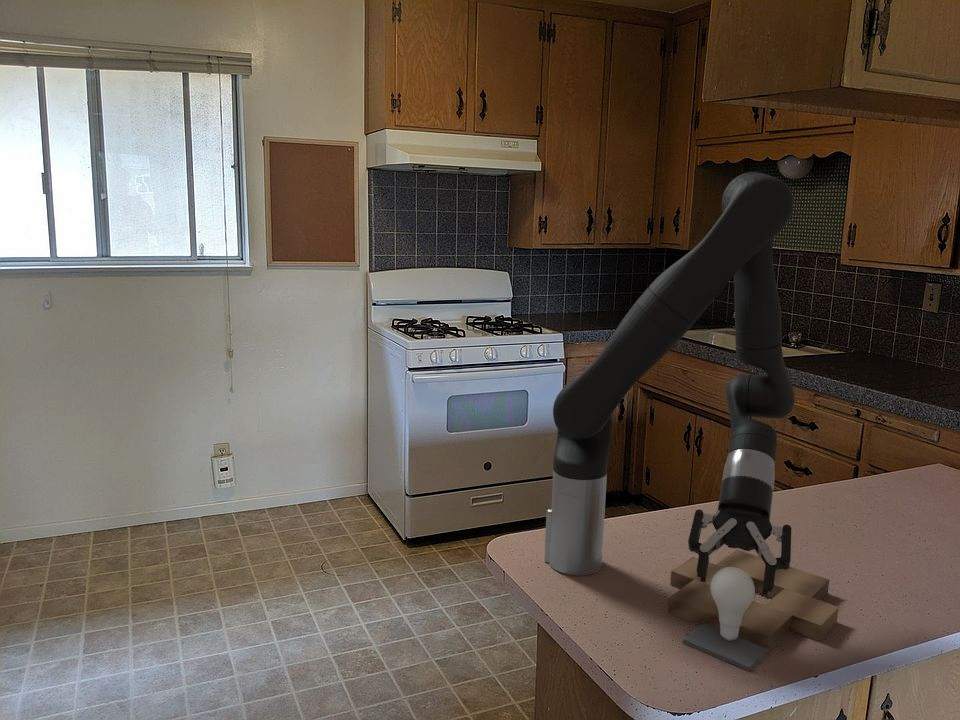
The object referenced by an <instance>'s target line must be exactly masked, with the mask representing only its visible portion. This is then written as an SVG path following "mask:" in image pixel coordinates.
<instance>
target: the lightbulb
mask: <svg viewBox="0 0 960 720" xmlns="http://www.w3.org/2000/svg"><path fill="white" fill-rule="evenodd" d="M710 589H711V594H712V596H713V599H714V601H715V603H716V605H717V608H718V612H719V622H720V634H721V636H722V637H723V638H725V639H726V640H728V641H731V640H734V639H736V638H738V634H739V626H740V625H741V623H742V618H743V615H744V613H745V611H746V609H747V608H748V607H749V605H750V604H751V602H752V601H754V599H755V596H756V593H755V586H754V583H753V580H752V579H751V577H750V576H749V575H748V574H747V573H746V572H745V571H743V570H741V569H739V568H736V567H726V568H723V569H720V570H719V571H718V572H717V573H716V574H715V575H714V576H713V578H712V581H711V585H710Z"/></svg>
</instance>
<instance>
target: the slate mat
mask: <svg viewBox="0 0 960 720" xmlns="http://www.w3.org/2000/svg"><path fill="white" fill-rule="evenodd" d="M682 644H685V645H687V646H689V647H692V648H694V649H696V650H698V651H701V652H703V653H706V654H708V655H711V656H713V657H715V658H718V659H720V660H722V661H725V662H727V663H730V664H731V665H733V666H736V667H739V668H741V669H743V670H745V671H748V672H751V670H752V669H753V668H754V667H756V665H758V663H759V662H760V661H762V660H763V658H764V657H766V655H768V653H769V652H771V651H772V650H773V649H774V648H775V647H776V645H777V644H776V642H775V643H774V644H773V645H772V646H771V647H770V648H769V649H767V648H765V647H762V646H760V645H757V644H755V643H752V642H750V641H747V640H745V639H742V638H740V637H738V638H736V639H734V640H731V641H728V640H726V639H725V638H723V637H722V636H721V634H720V629H717V628H715V627H712V626H710V625H708V624H705V623H703V624H701V625H699V626H698V627H696V628H694V630H693V631H692V632H690V633H689V634H687V636H685V637H684V638H683V639H682ZM768 651H769V652H768Z"/></svg>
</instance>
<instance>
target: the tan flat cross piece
mask: <svg viewBox="0 0 960 720" xmlns="http://www.w3.org/2000/svg"><path fill="white" fill-rule="evenodd" d="M698 558H699V557H694V556H691V557H690V558H689V559H687V560H686V561H683V562H682V563H681V564H679V565H678V566H676V567H675V568H673V569H672V570H671V571H670V582H669V585H670V586H673V587H675V588H677V589H678V590H677V591H676V592H674V593H673V594H672V595H670V596H668V602H667V613H669V614H671V615H674V616H676V617H679V618H682V619H684V620H686V621H689V622H690V623H694V624H696V625H699V626H700V625H701V624H703V623H705V624H708V625H710V626H712V627H715V628H717V629H720V622H719V612H718V608H717V605H716V603H715V601H714V599H713V596H712V594H711V589H710V585H711V581H712V578H713V576H714V575H715V574H716V573H717V572H718V571H719V570H720V569H723V568H726V567H736V568H739V569H741V570H743V571H745V572H746V573H747V574H748V575H749V576H750V577H751V579H752V580H753V583H754V586H755V594H758V595H760V596H763V597H766V598H768V599H770V600H769V601H768V602H767V603H766V604H762V603H760V602H757V601H755V600H753V601H752V602H751V604H750V605H749V607H748V608H747V609H746V611H745V613H744V615H743V618H742V623H741V625H740V626H739V634H738V637H740V638H742V639H745V640H747V641H750V642H752V643H755V644H757V645H760V646H762V647H765V648H767V649H769V648H770V647H771V646H772V645H773V644H774V643H775V642H776V645H777V644H778V643H780V642H781V640H782V639H784V638H785V637H786V635H788V634H789V633H790V632H791V631H792V632H794V633H797V634H799V635H802V636H805V637H807V638H810V639H813V640H814V641H817V642H820V641H821V640H822V639H823V638H824V637H825V635H827V633H829V631H830V630H832V628H833V626H835V624H836V623H837V622H838V617H839V615H838V614H839V606H836V605H834V604H831V603H829V602H824V601H822V600H823V599H824V598H825V597H826V596H827V595H828V593H829V585H830V579H828V578H826V577H823V576H819V575H817V574H814V573H810V572H808V571H804V570H802V569H798V568H795V567H792V566H790V567H789V569H787V570H784V569H778V570H776V572H775V578H774V587H773V590H772V592H769V591H768V593H767V595H764V594H762V591H763V582H764V574H765V564H764V562H763V561H762V559H761V558H760V557H759V556H758V555H755V554H752V553H749V552H747V551H744V550H739V549H735V550H734V551H733V552H731V553H730V554H728V555H727V556H726V557H724V558H723V559H721V560H720V561H718V562H717V563H716V564H715V563H711V562H710V561H709V564H708V570H707V577H706V582H701V580H700V577H698V576H697V564H698ZM769 652H770V651H768V653H769Z"/></svg>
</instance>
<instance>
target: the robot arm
mask: <svg viewBox="0 0 960 720" xmlns="http://www.w3.org/2000/svg"><path fill="white" fill-rule="evenodd" d="M721 210H722V214H721V215H720V216H719V218H718V219H717V220H716V222H715V224H714V225H713V226H712V227H711V229H710V230H709V231H708V232H707V234H706V235H705V236H704V237H703V238H702V240H701V241H700V242H699V243H698V244H697V245H696V246H695V247H693V248H692V249H691V250H690V251H688V253H686V254H685V255H684V256H682V257H680V259H678V260H677V261H675V262H674V263H672V265H670V266H669V267H668V268H667V269H665V270H664V271H663V272H662V273H660V274H659V276H657V277H656V278H655V279H654V281H652V282H651V284H649V286H648V287H647V288H646V289H645V291H644V292H643V293H642V294H641V295H640V296H639V297H638V299H637V300H635V302H634V304H633V305H632V306H631V308H630V309H629V310H628V312H627V313H626V314H625V316H624V317H623V318H622V320H621V321H620V323H619V324H618V325H617V328H615V330H614V331H613V334H612V335H611V337H610V339H608V341H607V343H606V345H605V346H604V348H603V349H602V351H601V352H600V354H599V355H598V356H597V357H596V358H595V360H594V361H593V362H592V363H591V364H590V365H588V367H587V368H586V369H585V370H584V371H583V372H582V373H581V374H579V376H578V377H576V378H573V379H572V380H569V381H568V382H566V384H565V386H563V387H562V389H561V390H560V391H559V393H558V394H557V396H556V397H555V400H554V403H553V405H552V406H553V407H552V417H553V421H554V425H555V426H556V428H557V438H556V443H555V448H554V454H553V462H552V464H553V465H552V487H551V490H552V491H551V507H550V508H549V509H547V510H546V513H545V533H544V534H545V535H544V537H545V538H544V558H543V559H544V561H545V562H547V563H548V564H549V565H550V567H551V568H553V570H555V571H557V572H560V573H562V574H565V575H570V576H587V575H592V574H595V573H597V572H599V571H600V570H601V568H602V562H603V560H602V559H603V545H604V533H605V532H604V530H605V515H606V514H605V509H606V496H607V495H606V494H607V493H606V492H607V479H608V478H607V477H608V476H607V475H608V462H609V456H610V448H611V436H612V435H611V433H612V421H613V413H614V412H615V410H616V409H617V407H618V406H619V404H620V403H621V402H622V400H623V399H624V398H625V396H627V394H628V393H629V391H631V389H632V388H633V386H635V384H636V383H637V382H638V381H639V380H640V379H641V378H643V376H644V375H646V374H647V372H649V371H650V370H651V369H652V368H653V367H654V366H655V365H657V363H658V362H659V361H660V360H662V359H663V358H664V357H665V356H666V355H667V354H668V352H670V350H672V348H673V347H675V345H676V344H677V343H679V342H680V340H681V339H682V338H683V337H684V336H685V334H686V333H687V332H689V330H690V329H691V328H692V327H693V326H694V325H695V323H696V322H697V321H698V320H699V318H700V317H701V316H702V314H703V313H705V311H706V310H707V309H708V308H709V306H710V305H711V304H712V303H713V302H714V301H715V300H716V298H717V297H718V296H719V295H720V294H721V292H722V291H723V290H724V288H725V287H726V286H727V285H728V284H729V282H730V281H731V280H732V278H733V286H734V287H733V288H734V289H733V290H734V292H733V294H734V296H733V297H734V331H735V332H734V333H735V336H734V337H735V338H734V339H735V354H736V358H737V360H738V361H739V362H740V363H743V364H744V365H747V366H751V367H755V368H759V369H762V370H763V371H764V372H765V373H766V374H765V375H764V374H737V375H735V376H733V377H731V379H730V380H729V382H728V383H727V385H726V389H725V395H726V397H725V398H726V403H727V409H728V413H729V417H730V418H729V419H730V421H729V422H730V438H729V445H728V452H727V457H726V460H725V464H724V467H723V473H722V478H721V486H720V492H719V499H718V504H717V505H718V506H717V511H716V513H715V514H713V515H712V514H708V513H704V511H703V509H696V510H695V512H694V516H693V519H692V524H691V528H690V532H689V536H688V541H687V542H688V550H689V551H690V552H693V553H696V554H697V555H698V557H697V558H698V564H697V576H698V577H700V580H701V582H706V577H707V570H708V564H709V562H710V556H711V555H712V554H713V553H715V552H716V551H718V550H719V549H721V547H723V546H724V545H725V546H727V548H730V549H741V551H744V552H751V551H753V550H754V551H755V552H756V554H757V556H758V557H760V558H761V559H762V561H763V562H764V564H765V574H764V582H763V591H762V594H764V595H767V593H768V591H769V592H772V590H773V587H774V578H775V572H776V570H778V569H784V570H787V569H789V567H791V565H790V564H791V560H792V559H791V557H792V527H791V525H789V524H783V526H778V525H772V522H771V512H772V503H773V494H774V490H775V476H776V475H775V472H776V471H775V461H776V453H777V446H778V434H777V432H776V429H774V428H773V427H772V425H770V424H768V423H765V422H762V421H760V420H757V419H753V418H759V419H778V420H779V419H784V418H786V417H787V416H789V415H790V414H791V412H793V409H794V406H795V398H796V397H795V392H794V388H793V385H792V382H791V379H790V376H789V374H788V370H787V368H786V364H785V360H784V354H783V343H782V342H783V341H782V340H783V338H782V335H783V334H782V325H783V324H782V310H781V302H780V297H779V290H778V287H777V281H776V276H775V267H774V256H773V246H774V245H773V244H774V238H775V236H776V235H777V234H779V233H780V232H781V231H782V230H783V229H784V227H785V226H786V225H787V223H788V222H789V220H790V218H791V217H792V213H793V210H794V195H793V193H792V190H791V188H790V187H789V186H788V185H787V183H785V182H784V181H782V180H780V179H779V178H778V177H774V176H772V175H768V174H766V173H763V172H758V171H749V172H744V173H742V174H740V175H738V176H736V177H734V178H733V179H732V180H731V181H730V182H729V183H728V185H727V186H726V188H725V190H724V192H723V194H722V198H721ZM711 524H712V525H713V528H714V529H715V530H716V531H714V533H712V534H711V535H710V536H709V538H708V539H707V540H706V541H704V542H703V543H701V542H699V540H700V537H701V534H702V529H706V528H707V527H708V525H711ZM771 535H774V537H775V540H776V541H777V542H779V543H781V545H780V549H781V551H780V557H775V555H774V554H773V553H772V551H771V550H770V549H771V548H770V547H769V545H768V543H767V541H766V540H767V539H768V538H769V537H771Z"/></svg>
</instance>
